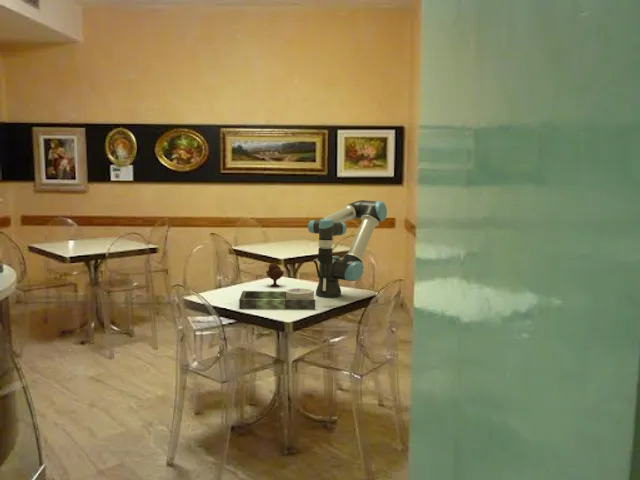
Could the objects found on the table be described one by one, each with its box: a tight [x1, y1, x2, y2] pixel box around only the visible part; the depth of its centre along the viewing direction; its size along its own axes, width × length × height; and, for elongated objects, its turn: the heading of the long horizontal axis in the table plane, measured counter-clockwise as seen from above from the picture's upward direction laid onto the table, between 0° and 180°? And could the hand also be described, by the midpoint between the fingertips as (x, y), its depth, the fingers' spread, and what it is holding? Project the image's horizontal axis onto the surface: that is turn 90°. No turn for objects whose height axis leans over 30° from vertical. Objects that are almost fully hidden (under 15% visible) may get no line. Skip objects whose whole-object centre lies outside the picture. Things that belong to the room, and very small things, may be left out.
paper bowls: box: [285, 288, 315, 299], centre depth 314 cm, size 15×15×8 cm
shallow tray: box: [238, 290, 316, 310], centre depth 314 cm, size 40×22×5 cm, turn 93°
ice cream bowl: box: [266, 262, 285, 288], centre depth 363 cm, size 11×11×15 cm
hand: (324, 290), depth 314 cm, fingers closed
